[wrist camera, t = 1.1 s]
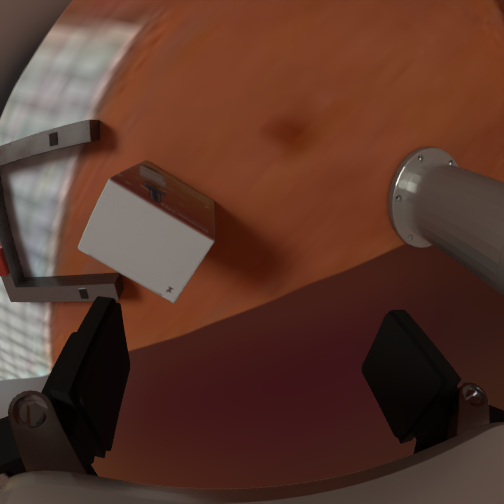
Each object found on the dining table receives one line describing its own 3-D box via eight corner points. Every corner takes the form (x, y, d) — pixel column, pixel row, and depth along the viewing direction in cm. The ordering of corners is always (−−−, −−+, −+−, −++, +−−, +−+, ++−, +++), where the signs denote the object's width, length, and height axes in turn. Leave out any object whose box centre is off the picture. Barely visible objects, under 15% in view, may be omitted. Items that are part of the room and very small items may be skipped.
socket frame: (98, 119, 22) (86, 119, 19) (123, 288, 30) (117, 303, 27) (-13, 153, 20) (-29, 157, 17) (19, 292, 28) (8, 304, 25)
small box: (215, 201, 27) (219, 242, 18) (185, 246, 29) (176, 306, 19) (145, 157, 25) (107, 175, 15) (117, 207, 26) (75, 250, 16)
